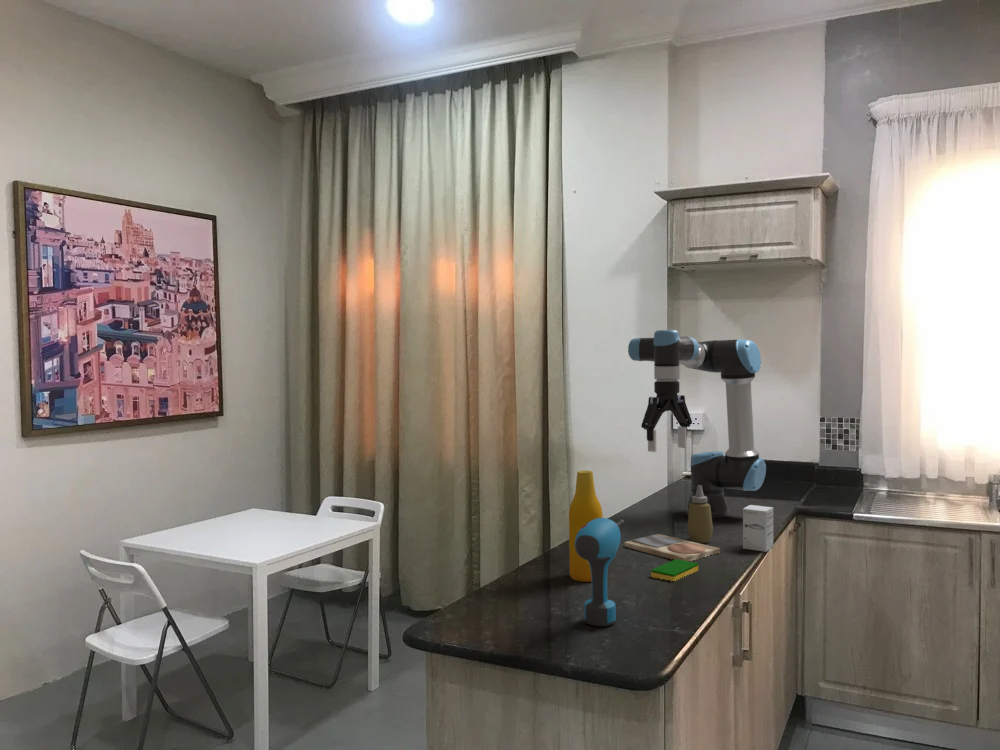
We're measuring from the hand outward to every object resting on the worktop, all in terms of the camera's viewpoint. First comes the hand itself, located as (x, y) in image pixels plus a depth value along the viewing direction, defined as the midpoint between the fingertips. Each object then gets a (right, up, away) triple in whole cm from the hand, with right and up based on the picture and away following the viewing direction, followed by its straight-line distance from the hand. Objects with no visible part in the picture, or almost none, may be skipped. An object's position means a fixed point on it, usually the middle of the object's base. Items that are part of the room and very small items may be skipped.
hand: (667, 449), depth 234 cm
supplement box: (+28, -31, +1) cm, 42 cm away
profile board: (+1, -31, 0) cm, 31 cm away
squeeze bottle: (+13, -31, +10) cm, 35 cm away
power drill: (-27, -33, -56) cm, 71 cm away
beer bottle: (-28, -33, -26) cm, 50 cm away
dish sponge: (-3, -32, -24) cm, 40 cm away
